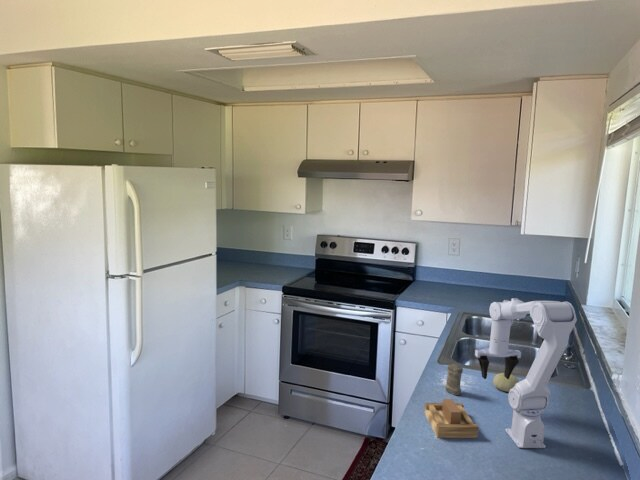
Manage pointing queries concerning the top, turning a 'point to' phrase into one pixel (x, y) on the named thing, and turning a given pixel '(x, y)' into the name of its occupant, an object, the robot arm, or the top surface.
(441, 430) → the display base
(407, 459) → the top surface
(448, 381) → the stone
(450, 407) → the tan wooden post
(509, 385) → the sea urchin shell
